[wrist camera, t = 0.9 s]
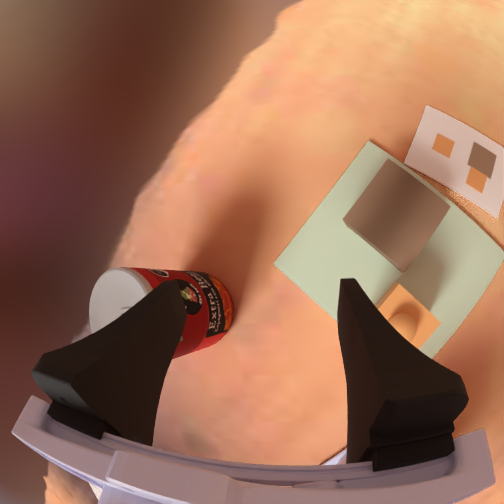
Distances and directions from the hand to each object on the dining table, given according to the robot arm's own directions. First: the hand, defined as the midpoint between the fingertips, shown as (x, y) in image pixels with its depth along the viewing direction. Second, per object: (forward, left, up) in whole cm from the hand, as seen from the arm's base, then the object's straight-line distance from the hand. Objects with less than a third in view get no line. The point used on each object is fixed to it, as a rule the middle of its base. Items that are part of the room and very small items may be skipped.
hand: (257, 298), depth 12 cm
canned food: (+7, +9, -13) cm, 18 cm away
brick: (-7, -3, -12) cm, 14 cm away
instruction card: (-4, -18, -13) cm, 22 cm away
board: (-4, -6, -13) cm, 15 cm away
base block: (-2, -9, -12) cm, 15 cm away
